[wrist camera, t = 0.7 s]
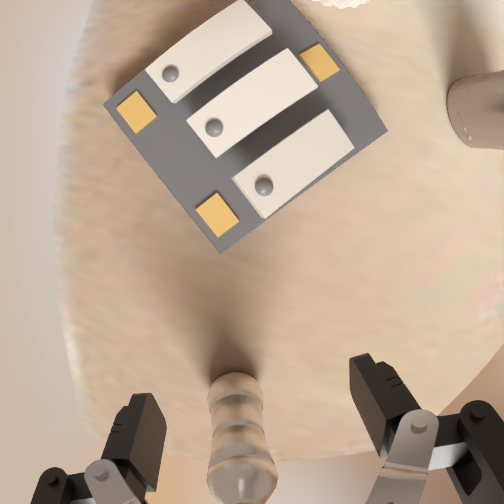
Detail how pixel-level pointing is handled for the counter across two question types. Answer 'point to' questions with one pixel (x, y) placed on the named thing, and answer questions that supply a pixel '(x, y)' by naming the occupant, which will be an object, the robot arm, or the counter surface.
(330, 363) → the counter surface
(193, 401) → the counter surface
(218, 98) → the plate
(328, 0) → the mooncake
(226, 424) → the plastic bottle
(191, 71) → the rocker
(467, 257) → the counter surface
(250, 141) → the switch console
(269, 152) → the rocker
